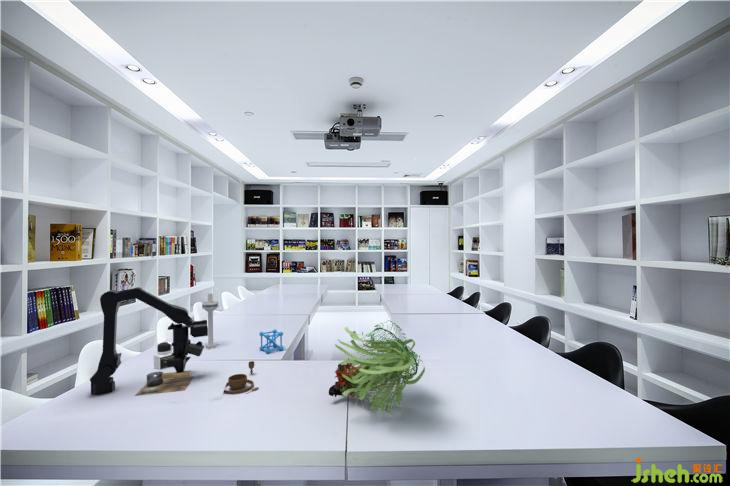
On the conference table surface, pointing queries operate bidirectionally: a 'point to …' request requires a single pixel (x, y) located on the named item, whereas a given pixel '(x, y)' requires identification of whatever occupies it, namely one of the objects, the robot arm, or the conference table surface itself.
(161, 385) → the base plate
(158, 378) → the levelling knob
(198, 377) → the conference table surface
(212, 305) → the model tower
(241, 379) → the place setting
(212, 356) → the conference table surface
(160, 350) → the medicine bottle
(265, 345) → the molecular structure
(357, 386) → the plant
